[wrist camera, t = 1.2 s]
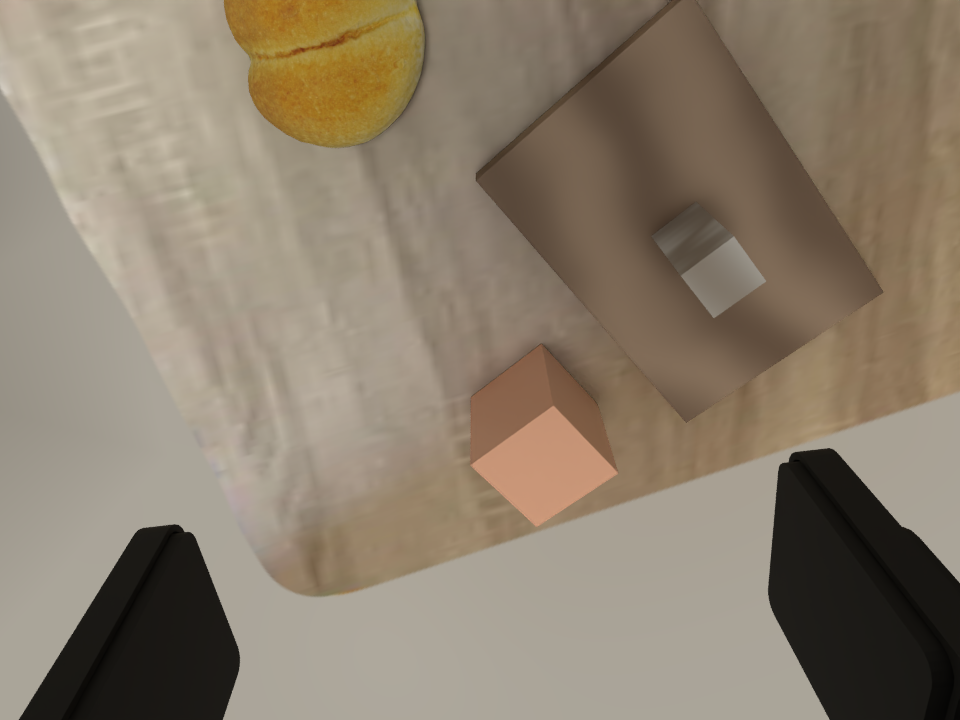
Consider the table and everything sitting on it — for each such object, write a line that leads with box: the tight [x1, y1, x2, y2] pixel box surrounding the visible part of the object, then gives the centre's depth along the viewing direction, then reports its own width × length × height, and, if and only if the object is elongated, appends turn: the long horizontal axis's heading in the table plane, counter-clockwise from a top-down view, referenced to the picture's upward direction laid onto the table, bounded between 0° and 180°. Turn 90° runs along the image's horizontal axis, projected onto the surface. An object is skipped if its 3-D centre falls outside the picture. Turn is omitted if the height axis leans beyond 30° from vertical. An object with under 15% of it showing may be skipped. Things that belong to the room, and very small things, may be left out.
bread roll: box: [224, 0, 425, 148], centre depth 30 cm, size 8×9×4 cm
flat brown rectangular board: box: [476, 0, 883, 423], centre depth 32 cm, size 12×18×7 cm, turn 41°
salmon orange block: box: [470, 344, 618, 527], centre depth 37 cm, size 5×5×7 cm
